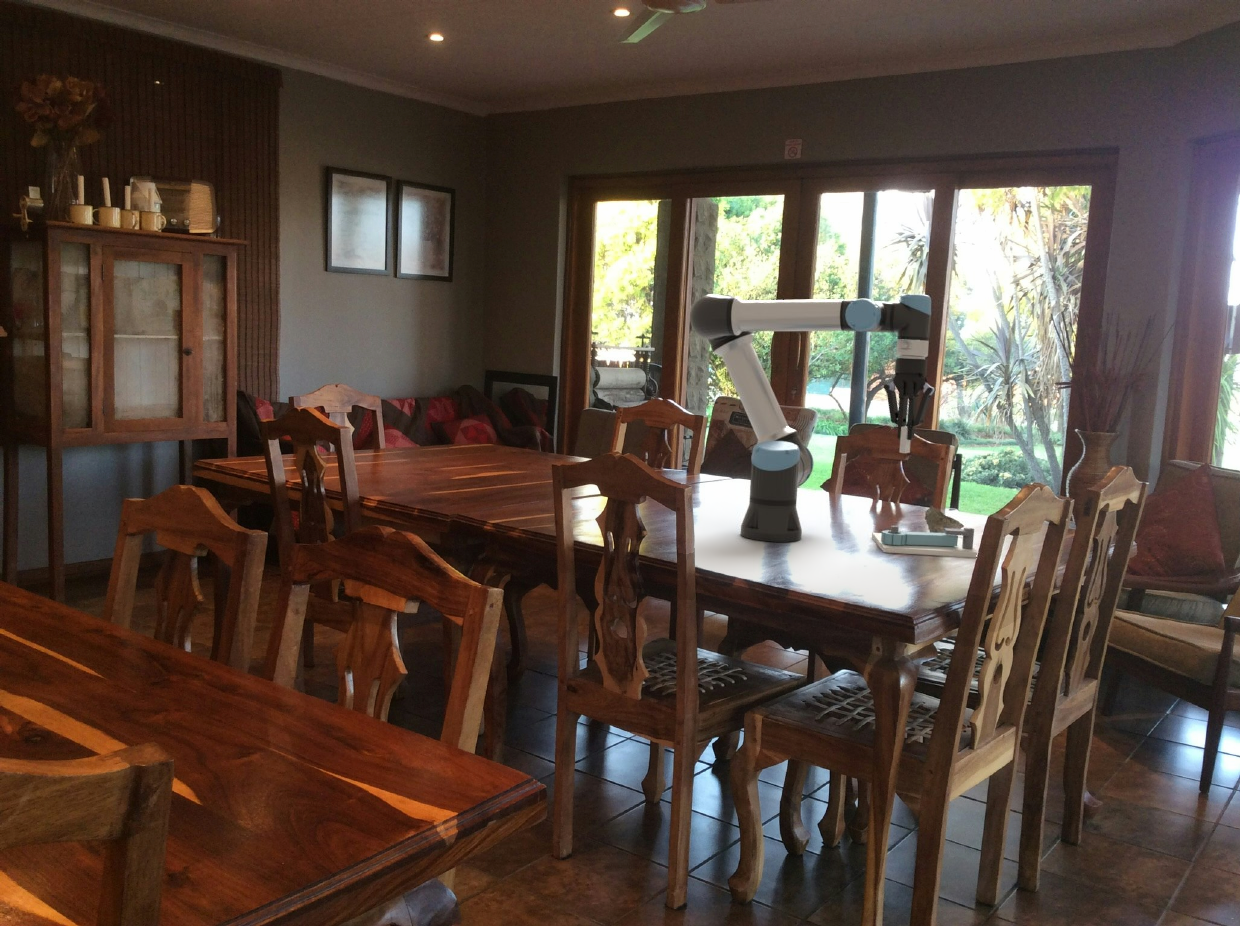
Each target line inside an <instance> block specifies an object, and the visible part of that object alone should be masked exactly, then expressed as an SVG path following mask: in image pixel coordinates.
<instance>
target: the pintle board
mask: <svg viewBox="0 0 1240 926" xmlns="http://www.w3.org/2000/svg"><path fill="white" fill-rule="evenodd" d="M890 530H891V531H890V533H892V534H898V531H899V526H898V525H890ZM871 533H872V534H871V538H872V540H873V541H874V542H875V543H876V545H877V546H878V547H879V548H880V549H881V550H882V552H883V553H890V554H893V553H894V554H907V555H924V556H938V557H939V556H940V557H941V556H942V557H959V558H974V559H975V558H976V555H977V553H979V552H978V551H977V550H976V549H975V548H973V547H974V538H975V537H974V536H975V534H974V533H975V529H974V528H973V527H963V528H961V529H949V528H944V533H945V534H946V535H957V536H962V538H961V537H958V542H957V546H933V545H906V544H905V545H890V544H884V543H882V542H881V534H882V532H871Z"/></svg>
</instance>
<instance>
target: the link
mask: <svg viewBox="0 0 1240 926" xmlns="http://www.w3.org/2000/svg"><path fill="white" fill-rule="evenodd" d="M890 531H891V529H890V530H889V529H886V530H882V531H881V533H882V534H881V542H882V543H884V544H890V545H905V544H906V545H933V546H957V542H958V538H959V535H946V534H945V533H930V532H928V531H927V532H925V531H924V532H923V531H922V532H921V531H900V530H898V534H892V533H890Z"/></svg>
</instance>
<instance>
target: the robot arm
mask: <svg viewBox="0 0 1240 926" xmlns="http://www.w3.org/2000/svg"><path fill="white" fill-rule="evenodd" d="M690 309H691V310H690V313H689V315H690V316H689V321H690V325H691V327H692V329H693V330H694V332H695V333H696V334H697V335H698V336H700V338H701V337H702V339H706V340H707V341H708V343H709V345H710V348H711V350H712V352H713V354H714V355H717V356H719V357H721V358H722V360H723V363H724V365H725V367H726V370H727V372H728V374H729V377H730V378H731V381H732V383H733V385H734V388H735V390H736V393H737V395H738V397H739V399H740V402H741V404H742V407H743V408H744V410H745V413H746V415H747V418H748V420H749V422H750V424H751V427H752V429H753V431H754V433H755V436H756V438H757V443H756V444H755V445H754V446H753V448H752V454H751V459H750V460H751V469H750V470H751V471H750V483H749V484H750V486H749V502H748V503H749V504H748V507H747V509H746V512H745V515H744V518H743V519H742V521H741V522H742V523H741V525H740V535H741V536H742V537H743V538H746V539H751V540H757V541H764V542H776V543H778V542H779V543H786V542H796V541H800V540H802V533H803V532H802V531H803V530H802V529H803V528H802V525H801V522H800V521H801V520H800V517H799V514H798V510H797V497H798V487H800V486H802V485H804V483H806V482H807V480H809V478H810V477H811V475H812V473H813V469H814V457H813V455H812V452H811V451H810V449H809V448H807V446H806V445H805V444H804V443H803V441H802V440H801V438H800V437H801V436H800V434H799V432H798V431H797V429H794V428H792V427H790V426H789V424H788V423H787V422H788V421H787V420H786V417H785V416H784V414H783V411H782V409H781V406H780V403H779V402H778V400H777V397H776V395H775V393H774V390H773V389H772V387H771V383H770V381H769V379H768V377H767V374H766V373H765V370H764V368H763V366H762V364H761V362H760V359H759V357H758V354H757V352H756V350H755V348H754V346H753V340H754V339H755V332H860V333H866V332H867V333H869V332H870V333H892V334H893V333H897V342H896V352H895V354H896V356H898V357H896V358H895V367H894V374H895V375H894V377H893V379H892V381H891V382H889V383H887V384H886V383H885V384H884V385H883V389H884V391H885V393H886V396H887V402H888V409H889V410H888V411H889V416H890V422H891V423H892V424H895V425H896V426H897V439H899V440H900V441H899V453H901V454H908V453H909V454H910V453H911V441H913V440H914V439H915V432H916V431H915V430H916V428H917V427H918V426H921V425H923V424H924V420H925V418H926V415H927V411H928V408H929V405H930V402H931V400H932V399H931V398H932V396H934V394H935V392H936V390H937V389H936V388H935V387H933V386H931V385H930V384H929V383H928V379H927V377H926V376H927V369H928V360H927V359H926V358H927V357H928V356H929V340H930V332H931V320H932V298H931V297H930V295H927V294H921V293H919V294H918V293H917V294H916V293H915V294H914V293H910V294H908V293H907V294H906V293H905V294H904V293H903V294H901V296H900V299H899V300H898V301H894V302H893V301H878V300H877V301H875V300H872V299H870V298H866V297H863V298H862V297H860V298H857V299H855V298H854V299H850V298H849V299H784V300H783V299H777V300H776V299H774V300H771V299H769V300H767V299H766V300H765V299H763V300H762V299H761V300H759V299H758V300H743V299H742V298H741V297H739V296H731V295H728V294H717V293H709V294H705V295H702V296H701V297H699V298H698V299H696V301H695V302H694V303H693V305H692V307H691V308H690ZM896 390H897V392H898V399H897V394H896ZM922 391H923V394H922V396H921V399H920V393H921V392H922ZM919 399H920V402H919V404H918V401H919ZM918 405H919V406H918Z"/></svg>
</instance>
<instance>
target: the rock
mask: <svg viewBox="0 0 1240 926" xmlns="http://www.w3.org/2000/svg"><path fill="white" fill-rule="evenodd" d="M924 519H925V522H926V525H927V527H928V530H929V533H944V528H949V529H964V528H965V525H964V524H963V523H961V522H960V521H958V520H957V519H954V518H953V517H951V516H948V515H945V514H944V513H943V512H942V511H940V510H938V509H937V508H936V507H934V506H933V505H932V504H930V505H929V508H928V509H927V510H926V511H925V516H924Z"/></svg>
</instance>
